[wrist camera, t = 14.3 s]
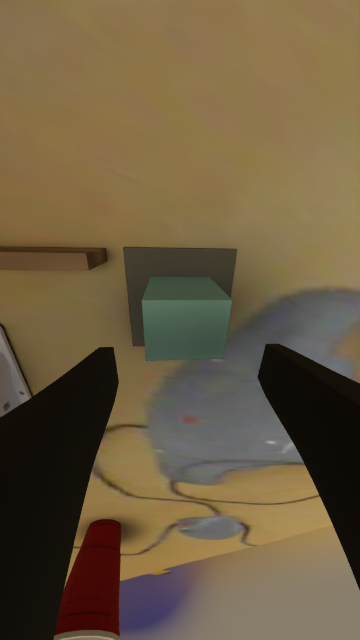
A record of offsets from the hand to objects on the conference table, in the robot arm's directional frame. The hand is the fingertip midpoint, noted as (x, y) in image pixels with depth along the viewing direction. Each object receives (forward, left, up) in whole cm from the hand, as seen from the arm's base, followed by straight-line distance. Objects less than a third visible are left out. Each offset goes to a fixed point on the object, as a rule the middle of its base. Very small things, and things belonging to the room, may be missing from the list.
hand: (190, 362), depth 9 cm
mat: (0, 0, -9) cm, 9 cm away
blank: (0, 0, -8) cm, 9 cm away
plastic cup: (-44, +13, -9) cm, 47 cm away
